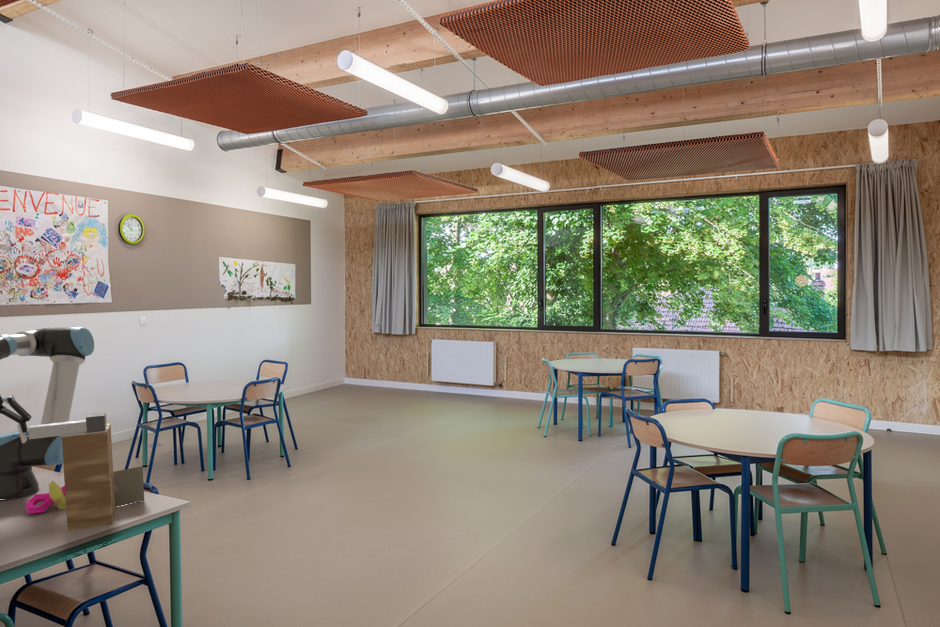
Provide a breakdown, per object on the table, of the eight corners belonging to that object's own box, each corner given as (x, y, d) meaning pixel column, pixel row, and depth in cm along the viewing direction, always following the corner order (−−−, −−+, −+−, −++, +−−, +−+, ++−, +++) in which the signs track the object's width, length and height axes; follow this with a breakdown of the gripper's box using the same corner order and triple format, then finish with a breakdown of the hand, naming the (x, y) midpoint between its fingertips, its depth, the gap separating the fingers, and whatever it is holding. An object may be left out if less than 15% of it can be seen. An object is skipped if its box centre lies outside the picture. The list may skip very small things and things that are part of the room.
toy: (28, 510, 206) (17, 490, 201) (86, 484, 217) (77, 464, 211) (35, 528, 200) (23, 508, 195) (93, 500, 211) (84, 480, 205)
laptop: (137, 493, 220) (136, 458, 219) (144, 502, 210) (142, 466, 209) (80, 505, 208) (78, 469, 208) (84, 515, 199) (82, 477, 198)
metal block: (31, 436, 184) (30, 420, 184) (106, 427, 193) (105, 412, 193) (28, 439, 180) (27, 423, 180) (105, 430, 189) (104, 415, 189)
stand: (73, 517, 196) (68, 427, 195) (115, 510, 202) (110, 423, 200) (67, 531, 185) (61, 436, 183) (112, 523, 190) (106, 431, 189)
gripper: (-71, 398, 182) (-52, 461, 187) (25, 382, 191) (41, 441, 197) (-62, 391, 189) (-43, 451, 194) (31, 375, 198) (47, 433, 203)
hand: (0, 446), depth 195 cm, fingers open, 13 cm apart
